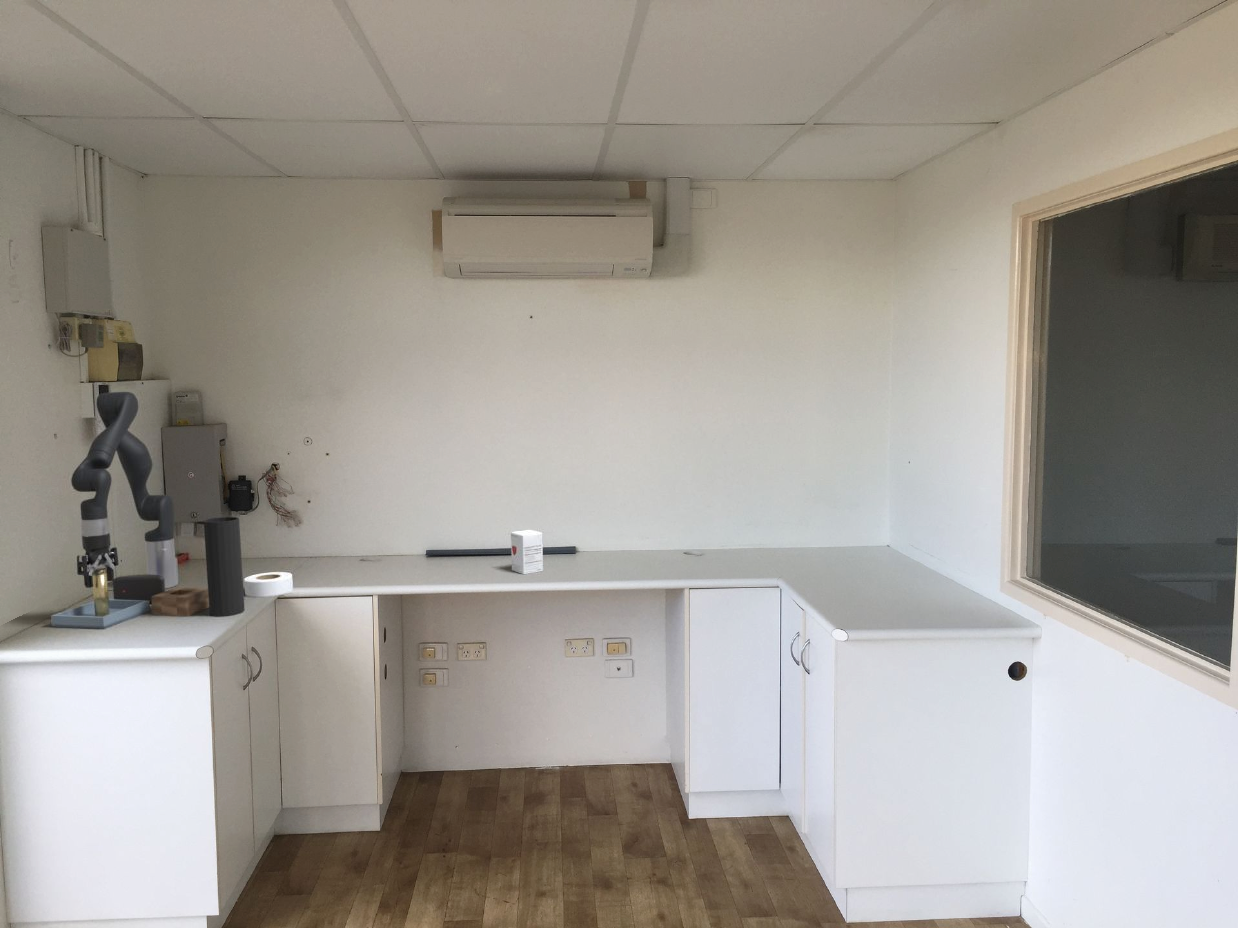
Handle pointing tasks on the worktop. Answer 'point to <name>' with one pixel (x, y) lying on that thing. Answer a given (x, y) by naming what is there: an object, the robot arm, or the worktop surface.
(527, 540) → the supplement box
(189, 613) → the walnut pin block
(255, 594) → the roll of tape
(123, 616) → the slate tray
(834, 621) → the worktop surface
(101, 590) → the brass pin
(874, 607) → the worktop surface
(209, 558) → the vase
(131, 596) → the red-dot charcoal box
